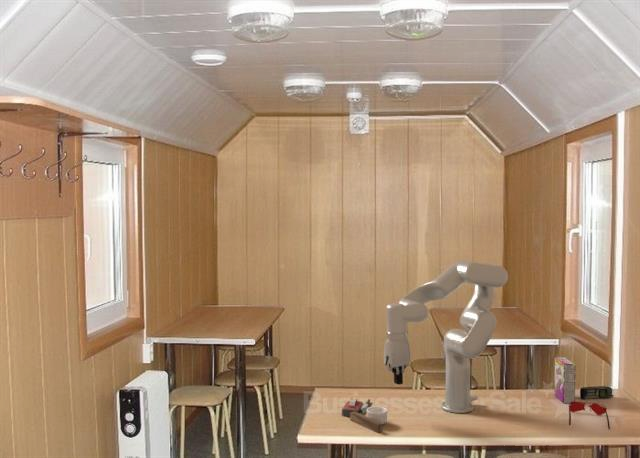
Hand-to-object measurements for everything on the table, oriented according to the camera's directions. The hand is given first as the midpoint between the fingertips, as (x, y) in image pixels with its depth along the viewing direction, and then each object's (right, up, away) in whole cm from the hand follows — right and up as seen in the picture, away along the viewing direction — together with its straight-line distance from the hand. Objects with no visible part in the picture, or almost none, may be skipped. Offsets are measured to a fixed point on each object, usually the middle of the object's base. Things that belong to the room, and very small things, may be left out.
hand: (398, 383), depth 251 cm
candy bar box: (+71, -12, +21) cm, 75 cm away
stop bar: (-13, -14, -8) cm, 21 cm away
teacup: (-9, -14, -5) cm, 17 cm away
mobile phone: (+86, -12, +23) cm, 90 cm away
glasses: (+71, -14, -3) cm, 73 cm away
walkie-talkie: (-15, -13, +10) cm, 23 cm away
